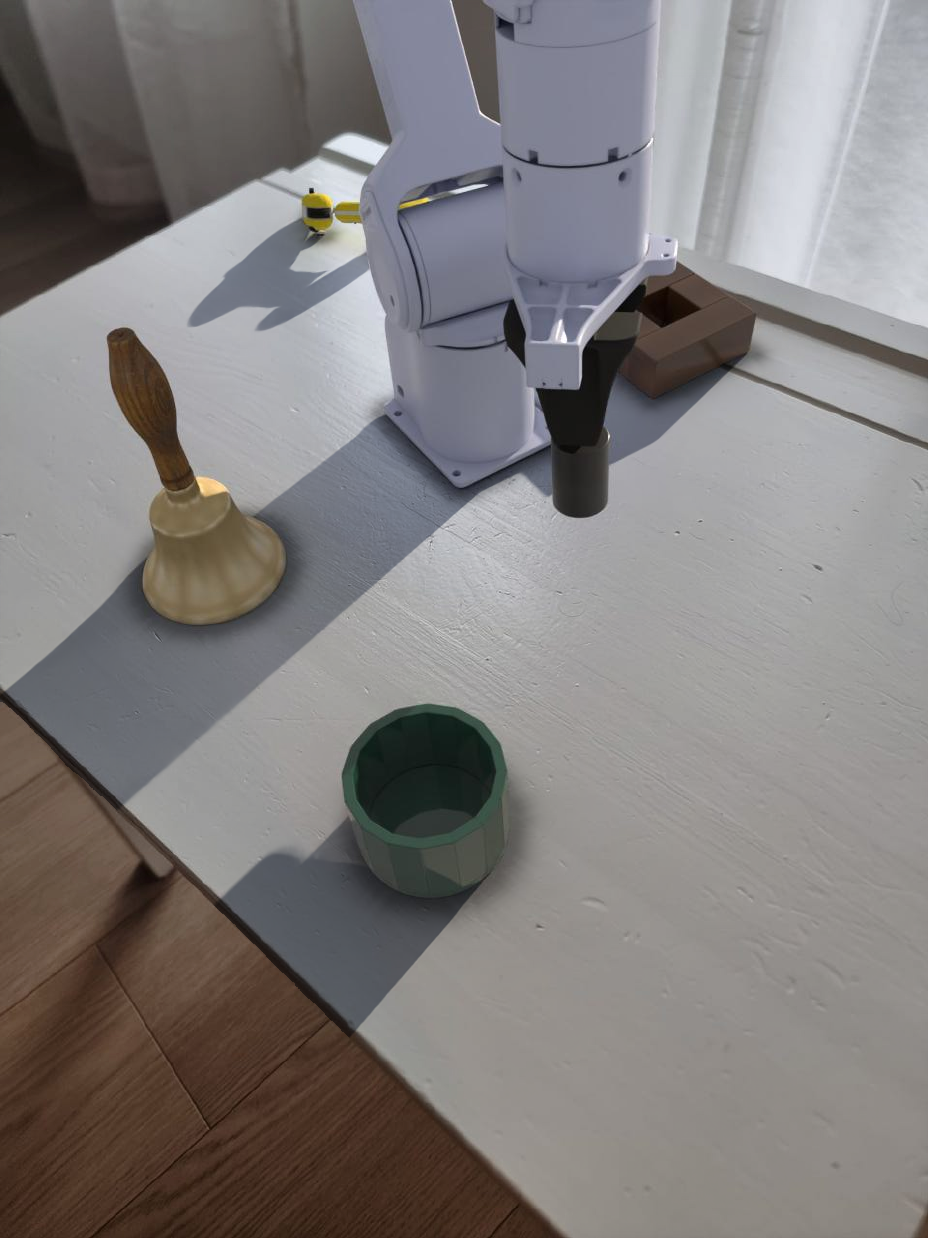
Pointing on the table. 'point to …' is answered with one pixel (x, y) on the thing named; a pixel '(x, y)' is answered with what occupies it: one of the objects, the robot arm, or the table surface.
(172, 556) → the hand bell
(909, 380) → the table surface
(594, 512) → the peg-topped grey cylinder
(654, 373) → the frame
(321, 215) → the yellow segmented toy
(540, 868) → the table surface
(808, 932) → the table surface
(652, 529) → the table surface
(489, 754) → the cup
